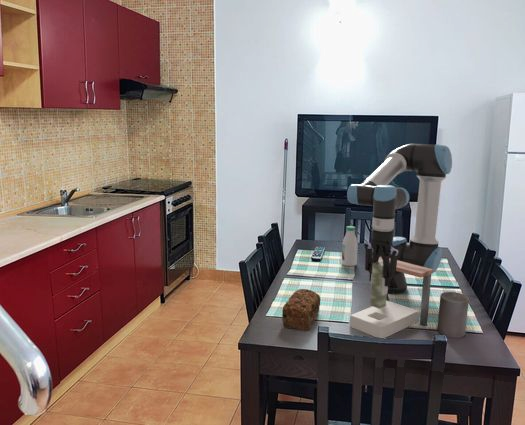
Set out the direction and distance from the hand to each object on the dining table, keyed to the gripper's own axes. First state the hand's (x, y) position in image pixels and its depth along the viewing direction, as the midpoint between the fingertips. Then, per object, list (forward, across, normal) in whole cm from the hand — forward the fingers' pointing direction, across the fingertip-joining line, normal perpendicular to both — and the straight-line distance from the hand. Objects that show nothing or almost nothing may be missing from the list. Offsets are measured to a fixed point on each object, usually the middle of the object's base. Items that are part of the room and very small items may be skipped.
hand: (378, 292), depth 185 cm
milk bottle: (+13, -57, +55) cm, 81 cm away
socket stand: (+14, 0, +5) cm, 15 cm away
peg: (+5, 0, 0) cm, 5 cm away
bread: (+14, -23, -16) cm, 31 cm away
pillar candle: (+14, +20, +17) cm, 30 cm away
